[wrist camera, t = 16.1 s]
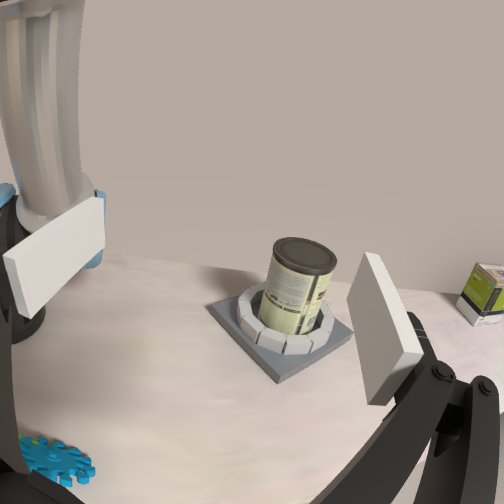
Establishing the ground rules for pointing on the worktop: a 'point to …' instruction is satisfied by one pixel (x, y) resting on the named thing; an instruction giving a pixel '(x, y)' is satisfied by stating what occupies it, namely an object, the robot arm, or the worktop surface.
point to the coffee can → (295, 285)
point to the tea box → (483, 295)
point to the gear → (56, 460)
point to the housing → (278, 335)
